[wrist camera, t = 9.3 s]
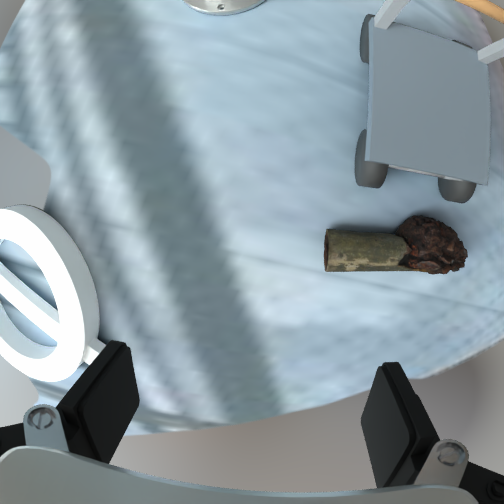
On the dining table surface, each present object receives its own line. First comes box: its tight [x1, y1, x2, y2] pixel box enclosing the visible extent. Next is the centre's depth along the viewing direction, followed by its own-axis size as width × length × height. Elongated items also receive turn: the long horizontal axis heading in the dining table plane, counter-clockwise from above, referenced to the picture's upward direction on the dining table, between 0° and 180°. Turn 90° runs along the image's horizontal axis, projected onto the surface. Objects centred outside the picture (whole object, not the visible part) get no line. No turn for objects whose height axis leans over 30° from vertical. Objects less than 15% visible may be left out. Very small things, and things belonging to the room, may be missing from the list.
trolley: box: [355, 0, 504, 203], centre depth 23 cm, size 20×14×18 cm
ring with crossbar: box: [0, 205, 106, 382], centre depth 40 cm, size 28×28×5 cm
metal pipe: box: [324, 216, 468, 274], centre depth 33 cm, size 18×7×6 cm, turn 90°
